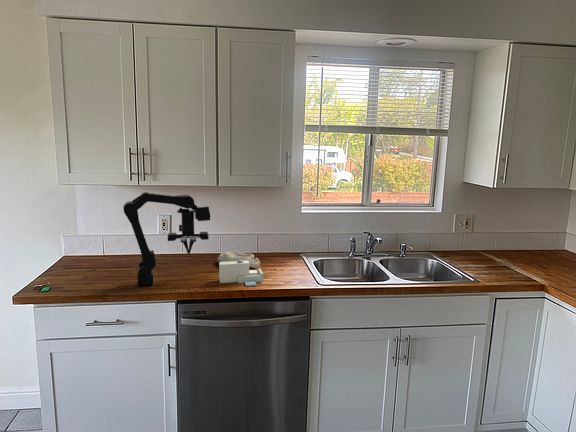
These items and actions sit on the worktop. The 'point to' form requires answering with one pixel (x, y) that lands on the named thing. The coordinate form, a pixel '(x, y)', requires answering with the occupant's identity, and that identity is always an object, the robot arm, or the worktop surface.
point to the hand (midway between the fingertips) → (188, 253)
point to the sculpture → (239, 258)
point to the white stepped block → (234, 270)
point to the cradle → (251, 279)
